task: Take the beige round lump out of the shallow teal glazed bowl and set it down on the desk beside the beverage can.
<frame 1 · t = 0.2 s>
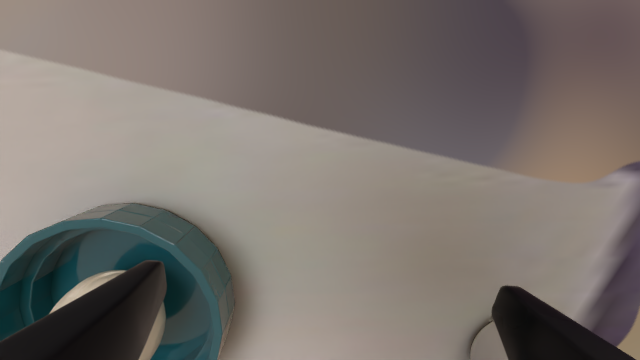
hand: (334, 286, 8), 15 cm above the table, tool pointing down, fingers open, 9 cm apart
beige round lump: (137, 296, 24), resting on bowl
bowl: (138, 295, 24), on the table
beverage can: (501, 343, 27), on the table
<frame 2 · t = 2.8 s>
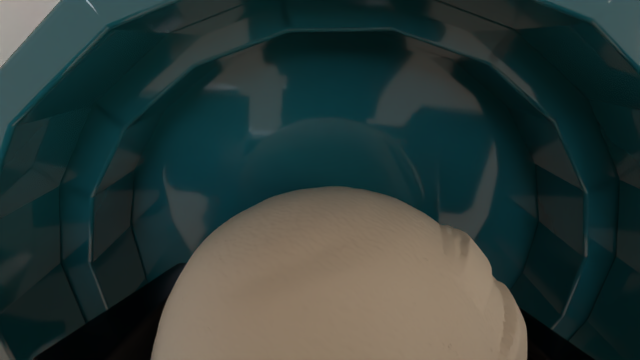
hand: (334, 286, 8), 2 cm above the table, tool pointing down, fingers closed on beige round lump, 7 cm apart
beige round lump: (333, 245, 10), resting on bowl, touching gripper
bowl: (333, 243, 10), on the table
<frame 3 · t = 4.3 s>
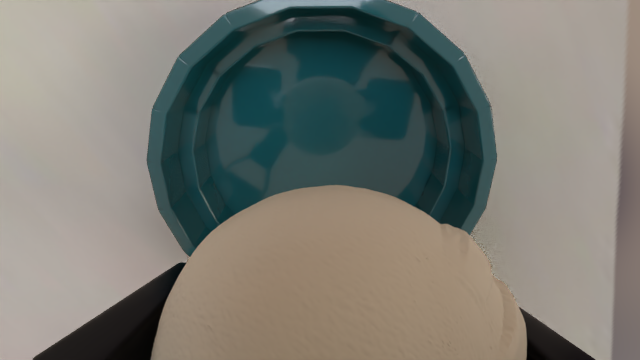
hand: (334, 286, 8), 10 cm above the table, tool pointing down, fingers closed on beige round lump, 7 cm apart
beige round lump: (333, 244, 10), point 8 cm above the table, touching gripper
bowl: (321, 155, 17), on the table
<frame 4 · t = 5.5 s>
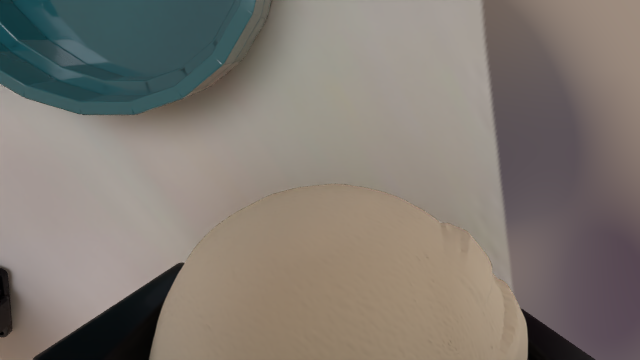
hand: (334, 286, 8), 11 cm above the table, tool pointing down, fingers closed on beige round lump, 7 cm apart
beige round lump: (333, 244, 10), point 9 cm above the table, touching gripper
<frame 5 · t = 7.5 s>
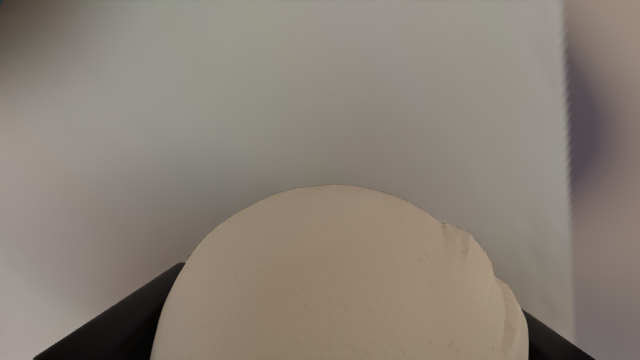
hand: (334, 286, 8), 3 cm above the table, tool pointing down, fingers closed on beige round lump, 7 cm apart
beige round lump: (333, 244, 10), point 2 cm above the table, touching gripper
when the fingers open (2 cm above the table, at t = 8.7 s): beige round lump stays where it is, on the table.
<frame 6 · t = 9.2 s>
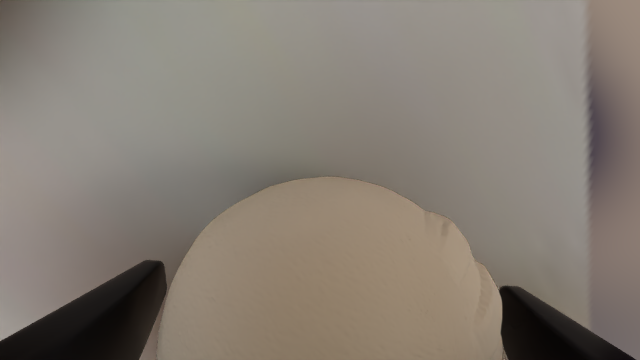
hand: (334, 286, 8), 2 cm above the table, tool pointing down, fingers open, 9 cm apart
beige round lump: (328, 235, 11), on the table
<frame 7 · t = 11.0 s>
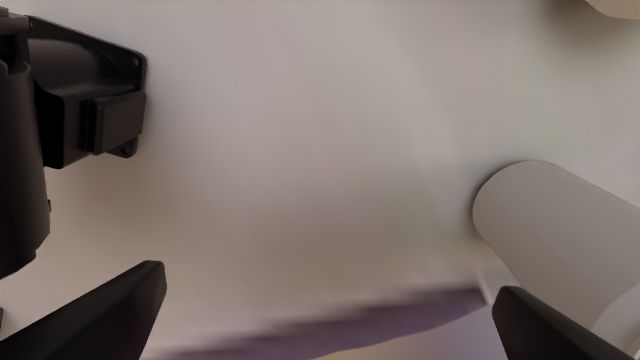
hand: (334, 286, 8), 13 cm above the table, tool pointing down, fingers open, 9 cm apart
beverage can: (513, 199, 22), on the table
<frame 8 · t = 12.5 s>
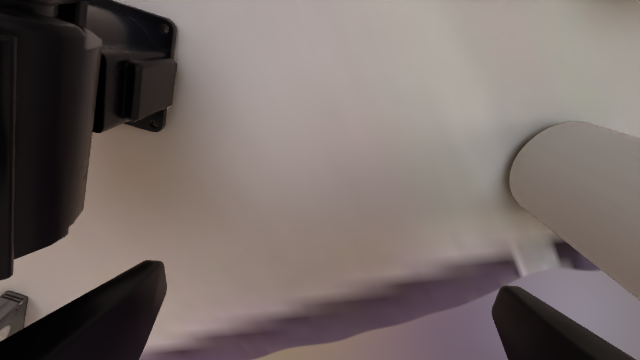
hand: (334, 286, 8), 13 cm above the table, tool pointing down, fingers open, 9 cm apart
mini dv tape: (15, 325, 27), on the table
beverage can: (549, 164, 21), on the table
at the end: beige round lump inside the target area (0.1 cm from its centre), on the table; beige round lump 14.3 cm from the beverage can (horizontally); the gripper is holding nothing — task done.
